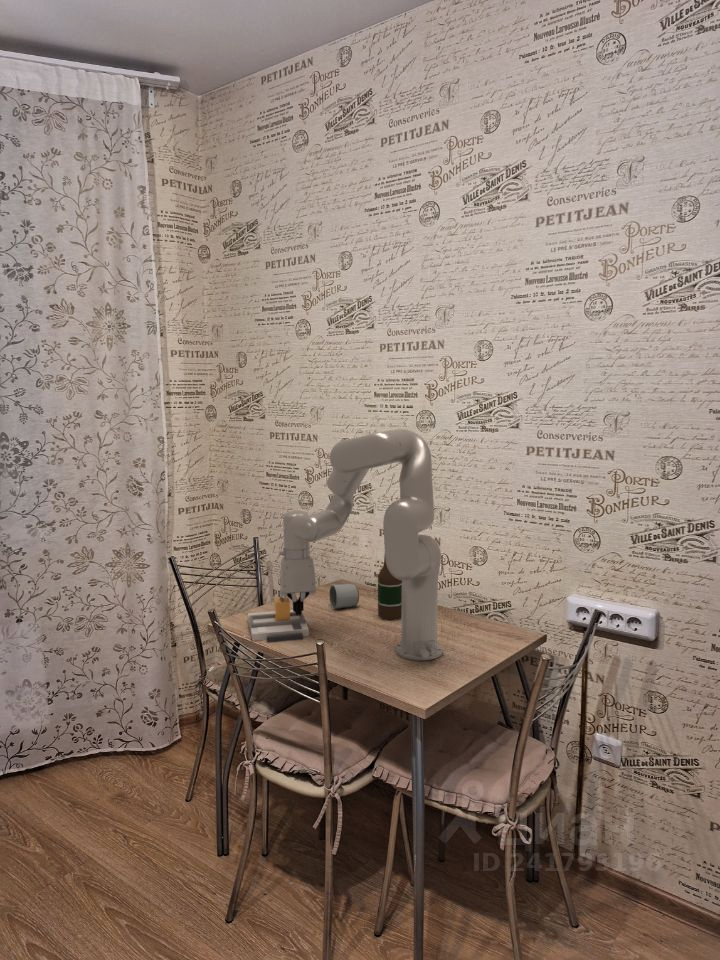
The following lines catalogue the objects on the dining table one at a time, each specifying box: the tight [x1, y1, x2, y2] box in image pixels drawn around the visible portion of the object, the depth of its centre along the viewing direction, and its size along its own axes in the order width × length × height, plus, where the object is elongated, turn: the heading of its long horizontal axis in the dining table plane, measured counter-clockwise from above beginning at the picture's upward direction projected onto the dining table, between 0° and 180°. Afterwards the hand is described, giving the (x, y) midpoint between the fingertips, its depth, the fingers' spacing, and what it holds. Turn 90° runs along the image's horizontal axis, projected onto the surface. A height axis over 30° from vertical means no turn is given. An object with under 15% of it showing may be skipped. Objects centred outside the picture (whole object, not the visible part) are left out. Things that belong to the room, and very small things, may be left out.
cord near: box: [266, 633, 304, 643], centre depth 192 cm, size 1×10×1 cm, turn 103°
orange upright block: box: [274, 596, 291, 621], centre depth 202 cm, size 4×4×6 cm
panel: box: [247, 609, 310, 642], centre depth 202 cm, size 18×16×3 cm
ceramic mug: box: [328, 583, 360, 610], centre depth 221 cm, size 11×8×8 cm
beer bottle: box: [377, 554, 402, 621], centre depth 209 cm, size 8×8×24 cm
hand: (298, 613), depth 203 cm, fingers closed
